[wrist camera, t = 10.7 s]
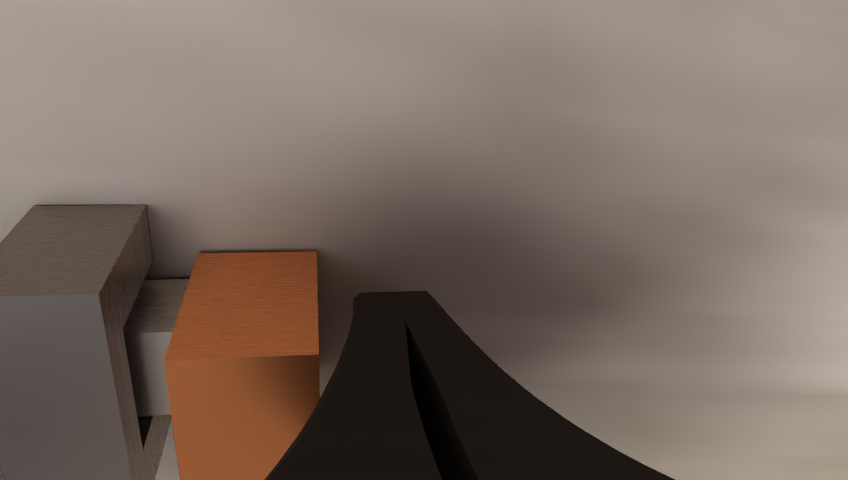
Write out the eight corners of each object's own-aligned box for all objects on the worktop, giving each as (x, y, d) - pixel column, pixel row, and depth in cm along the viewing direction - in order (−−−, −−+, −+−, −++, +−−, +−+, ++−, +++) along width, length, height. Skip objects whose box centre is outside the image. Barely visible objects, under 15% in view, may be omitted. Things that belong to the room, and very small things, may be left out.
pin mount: (173, 410, 13) (140, 532, 10) (78, 414, 13) (23, 540, 10) (145, 205, 11) (97, 294, 9) (33, 205, 11) (-49, 297, 8)
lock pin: (318, 371, 13) (320, 493, 10) (-87, 389, 12) (-202, 531, 9) (316, 251, 12) (319, 353, 9) (-133, 258, 11) (-279, 378, 8)
